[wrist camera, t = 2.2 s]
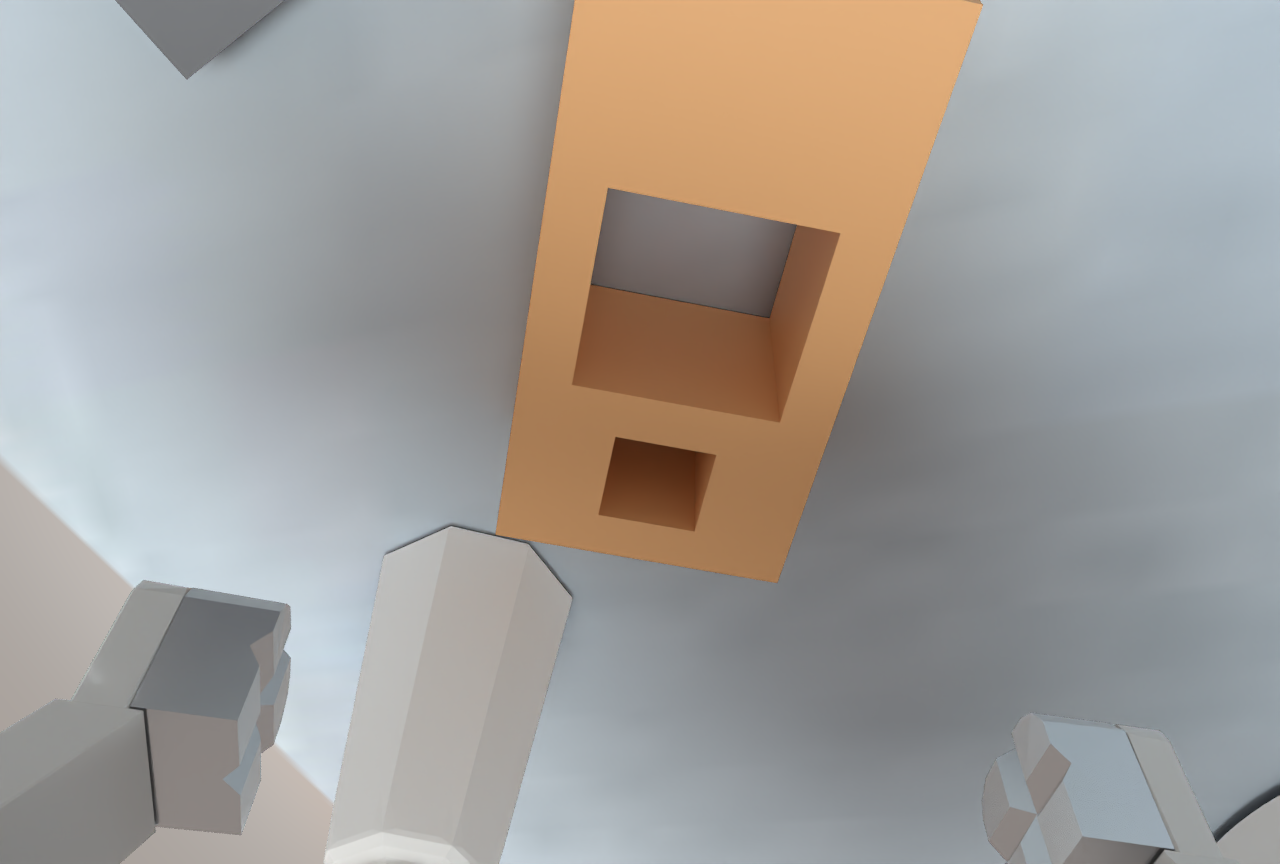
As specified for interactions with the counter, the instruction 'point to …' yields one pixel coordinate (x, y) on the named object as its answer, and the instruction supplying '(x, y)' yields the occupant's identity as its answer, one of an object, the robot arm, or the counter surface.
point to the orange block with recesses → (704, 336)
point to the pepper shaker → (446, 701)
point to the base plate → (195, 26)
